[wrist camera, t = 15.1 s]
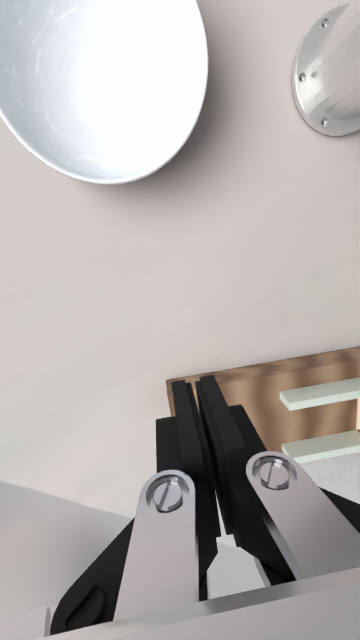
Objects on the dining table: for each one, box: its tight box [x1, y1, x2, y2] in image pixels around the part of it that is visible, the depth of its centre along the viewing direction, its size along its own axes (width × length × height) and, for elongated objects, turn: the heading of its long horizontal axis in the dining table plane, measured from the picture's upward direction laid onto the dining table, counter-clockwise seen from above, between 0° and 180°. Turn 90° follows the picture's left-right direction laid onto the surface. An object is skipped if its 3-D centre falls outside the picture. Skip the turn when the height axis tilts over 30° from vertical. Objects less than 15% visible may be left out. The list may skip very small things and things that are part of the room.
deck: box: [166, 347, 360, 454], centre depth 44 cm, size 47×16×4 cm, turn 98°
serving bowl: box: [0, 0, 208, 185], centre depth 29 cm, size 21×21×7 cm
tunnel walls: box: [280, 377, 360, 464], centre depth 41 cm, size 12×10×3 cm
